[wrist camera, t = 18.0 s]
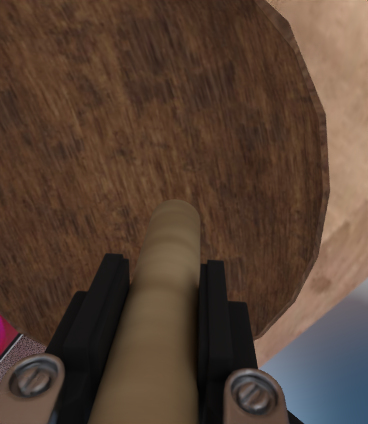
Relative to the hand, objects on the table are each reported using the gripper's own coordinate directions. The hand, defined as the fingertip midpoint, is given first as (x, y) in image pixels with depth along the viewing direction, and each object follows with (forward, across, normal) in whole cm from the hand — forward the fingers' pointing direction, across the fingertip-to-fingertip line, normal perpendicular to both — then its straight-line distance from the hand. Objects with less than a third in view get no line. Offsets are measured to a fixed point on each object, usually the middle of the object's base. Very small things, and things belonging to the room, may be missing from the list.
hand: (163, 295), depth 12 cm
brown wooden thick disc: (+11, +3, 0) cm, 11 cm away
